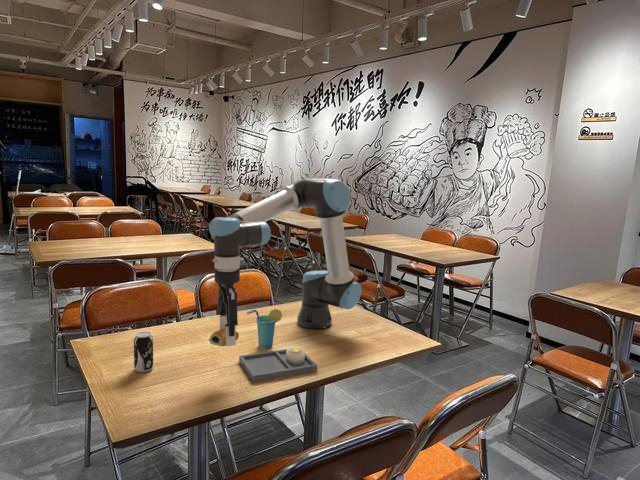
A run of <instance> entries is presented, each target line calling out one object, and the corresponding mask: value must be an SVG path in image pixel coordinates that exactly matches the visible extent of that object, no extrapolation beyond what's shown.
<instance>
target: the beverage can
mask: <svg viewBox="0 0 640 480" xmlns="http://www.w3.org/2000/svg"><path fill="white" fill-rule="evenodd" d="M133 365H134V367H133V368H134V370H135V371H136V372H137V373H146V372H149V371H150V370H152V369H153V368H154V338H153V336H152V333H151V332H150V331H140V332H137V333H136V334H135V337H134V338H133Z"/></svg>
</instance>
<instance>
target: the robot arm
mask: <svg viewBox="0 0 640 480" xmlns="http://www.w3.org/2000/svg"><path fill="white" fill-rule="evenodd" d="M350 201H351V193H350V189H349V187H348V185H347V184H346V183H345V182H344V181H342V180H341V179H335V178H322V177H321V178H318V177H317V178H315V177H306V178H302V179H300V180H297V181H295V182H292V183H289V184H288V185H285V186H283V187H282V188H280V191H279V192H276V193H274V194H273V195H271V196H268V197H266V198H264V199H262V200H260V201H257V202H256V203H254V204H251V205H249V206H247V207H245V208H243V209H241V210H239V211H237V212H235V213H232V214H231V215H228V216H226V217H223V216H220V217H219V216H217V217H214V218H213V219H212V220H211V221H210V223H209V226H208V230H209V234H210V235H211V237H212V238H213V248H214V251H213V252H214V258H213V259H212V262H213V263H214V269H215V270H214V282H215V283H217V286H218V287H217V289H218V290H217V291H218V293H217V312H218V315H219V330H226V346H225V347H232V346H236V344H237V343H236V342H237V340H236V332H237V331H236V329H237V328H236V326H239V325H238V324H239V323H238V320H239V319H238V292H237V291H236V288H235V287H234V284H237V283H239V282H240V277H241V275H240V274H241V270H240V267H241V255H240V254H241V253H240V252H241V248H242V249H243V248H249V247H255V246H261V245H265V244H267V243H268V242H269V241H270V239H271V237H272V233H271V232H272V231H271V227H270V226H269V224H268V223H267V222H268V221H270V220H271V219H273V218H276V217H278V216H279V215H281V214H283V213H285V212H287V211H295V210H297V209H302V208H303V209H305V208H307V209H308V208H309V209H314V213H315V214H314V215H315V217H316V218H317V219H318V220H320V221H319V222H320V227H321V233H322V240H323V241H322V242H323V247H324V254H325V261H326V267H327V269H326V270H311V271H306V272H305V273H303V276H302V282H301V283H302V286H301V288H302V289H301V307H300V310H299V313H298V315H297V318H296V319H297V321H296V323H298V324H299V325H298V324H297V325H298V326H300V327H302V326H303V327H302V328H305V327H306V328H305V329H310V328H323V329H325V328H324V327H327V326H329V325H331V324H332V323H333V318H332V315H331V311H330V307H329V305H330V306H333V307H337V308H339V309H343V310H352V309H353V308H354V307H355V306H357V304H358V303H359V300H360V298H361V297H362V296H361V295H362V286H361V284H360V283H359V282H357V281H355V276H354V273H353V272H352V271H350V267H349V259H348V252H347V251H348V250H347V244H346V243H347V242H346V235H345V228H344V221H343V216H345V214H346V212H347V211H346V210H347V209H348V208H349V205H350ZM331 326H332V325H331ZM329 327H330V326H329ZM327 328H328V327H327Z"/></svg>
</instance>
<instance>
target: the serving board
mask: <svg viewBox="0 0 640 480" xmlns="http://www.w3.org/2000/svg"><path fill="white" fill-rule="evenodd" d="M238 359H239V360H238V363H239V364H240V365H241V367H242V368H243V370H244V371H245V374H247V376H248V378H249V379H250V380H251V382H252V383H259V382H265V381H272V380H276V379H283V378H286V377H287V378H288V377H293V376H299V375H304V374H311V373H315V372H316V373H317V372H318V364H317V363H316V362H315V361H314V360H313V359H311V358H310V356H308V355H307V354H306V350H305V349H304V348H303V347H299V346H292V347H288V348H284V349H283V348H282V349H277V350H271V351H264V352H257V353H250V354H244V355H239V358H238Z"/></svg>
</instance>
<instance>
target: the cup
mask: <svg viewBox="0 0 640 480" xmlns="http://www.w3.org/2000/svg"><path fill="white" fill-rule="evenodd" d="M252 313H255V314H256V318H255V320H256V324H257V326H256V327H257V338H258V339H257V340H258V341H257V342H258V348H259V349H262V350H263V349H264V350H265V349H267V350H269V349H271V348H273V346H274V345H273V343H274V335H275V329H276V328H275V327H276V323H277V322H280V321H281V320H282V317H283V313H282V311H281V310H280V309H278V308H274V309H271V310H270V311H269V313H268V315H260V314H259V311H258V310H257V309H252V310H249V311H247V312H246V314H247V315H250V314H252Z"/></svg>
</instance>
